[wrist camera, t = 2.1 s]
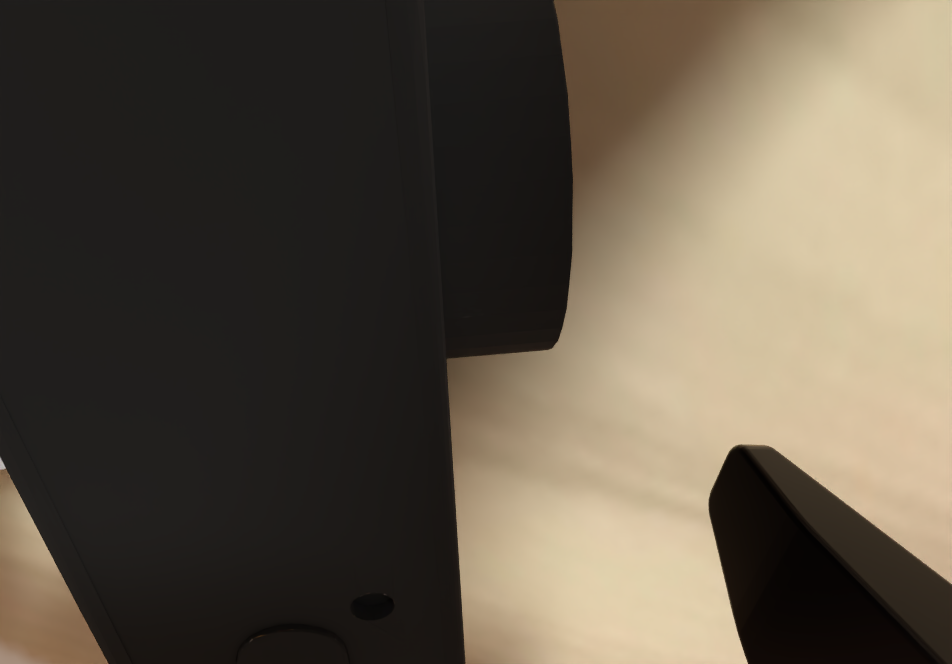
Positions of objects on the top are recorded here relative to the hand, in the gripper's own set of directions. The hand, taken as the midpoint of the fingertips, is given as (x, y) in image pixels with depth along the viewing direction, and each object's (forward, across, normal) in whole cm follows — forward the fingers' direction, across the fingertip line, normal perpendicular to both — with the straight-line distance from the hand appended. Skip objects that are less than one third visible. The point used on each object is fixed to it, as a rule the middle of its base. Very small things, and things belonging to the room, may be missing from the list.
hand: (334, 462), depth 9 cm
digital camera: (+7, 0, 0) cm, 7 cm away
